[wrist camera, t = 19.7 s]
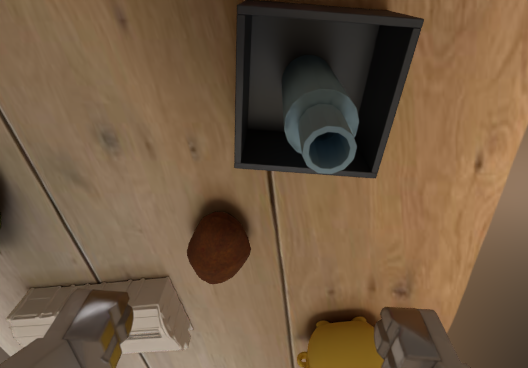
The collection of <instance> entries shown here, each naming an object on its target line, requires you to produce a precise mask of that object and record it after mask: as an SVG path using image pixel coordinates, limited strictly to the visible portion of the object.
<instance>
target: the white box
mask: <svg viewBox="0 0 528 368" xmlns="http://www.w3.org/2000/svg"><path fill="white" fill-rule="evenodd" d="M77 288H80V289H95V290H107V291H120V292H128V295H129V298H130V299H129V301H128V305H130V306H131V307H132V308H133V313H134V319H133V324H132V329H131V331H130V334H139V333H154V332H159V333H155V334H140V335H129V337H139V336H153V335H160V336H157V337H143V338H128V339H126V340H125V341H124V342H122V343H121V344H120V346H121V349H122V354H126V353H142V352H158V351H174V350H185V349H184V348H188V346H189V342H190V338H191V335H190V333H189V331H188V330H193V328H192V326H191V324H190V322H189V321H190V320H189V318H188V316H187V315H186V313H185V311H184V308H183V306H182V303H180V301H179V298H178V295H177V293H176V291H175V289H174V288H173V286H172V282H171V280H170V278H169V276H167V277H166V278H159V279H147V280H145V279H144V278H141V280H136V281H132V279H130V280H128V281H125V282H114V283H106V282H102V283H101V284H92V285H90V284H89V283H86V284H85V285H81V286H75V285H71V286H70V287H61V286H57V287H47V288H36V289H35V288H30V290H29V291H28V292H27V293H26V295H25V296H24V297H23V298H22V300H21V301H20V302H19V303H18V304H17V306H16V307H15V308H14V309H13V311H12V312H11V313H10V314H9V316H8V317H7V318H6V320H7V321H11V326H10V327H9V328H12V334H13V336H14V337H13V338H15V340H16V341H17V342H18V343H20V344H19V345H22V346H23V347H25V346H27V345H28V344H30V343H31V342H33V341H34V340H35V339H37V338H43V337H44V335H45V334H46V332H47V331H48V329H49V328H50V326H51V324H52V323H53V321H54V320H55V318H56V317H57V315H58V314H59V312H60V311H61V309H62V308H63V306H64V305H65V303H66V301H67V300H68V298H69V297H70V295H71V294H72V293H73V292H74V291H75V290H76V289H77Z"/></svg>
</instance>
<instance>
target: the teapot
mask: <svg viewBox="0 0 528 368" xmlns="http://www.w3.org/2000/svg"><path fill="white" fill-rule="evenodd" d="M316 327H317V328H316V329H315V331H314V332H313V334H312V336H311V338H310V340H309V344H308V350H307V352H301V353H300V354H299V355H298V357H297V363H298V365H299V366H300V367H304V368H381V366H382V363H383V361H384V360H383V358H382V357H381V356H380V355H379V354H378V353H377V351H376V347H375V342H374V327H372V326H371V325H370V324H368V323H366V319H365V318H364V317H355V318H353V319H352V321H346V322H336V323H329V322H328V321H319V322H317V324H316ZM302 359H306V362H302V361H301V360H302Z"/></svg>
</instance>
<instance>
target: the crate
mask: <svg viewBox="0 0 528 368" xmlns="http://www.w3.org/2000/svg"><path fill="white" fill-rule="evenodd" d="M423 22H424V19H422V18H418V17H413V16H409V15H405V14H400V13H396V12H392V11H388V10H375V9H362V8H350V7H337V6H324V5H311V4H298V3H285V2H272V1H259V0H246V1H244V2H242V3H240V4H238V5H237V39H236V100H235V161H234V162H235V163H234V168H240V169H254V170H267V171H281V172H295V173H308V174H322V175H336V176H349V177H363V178H376V176H377V173H378V170H379V166H380V163H381V160H382V156H383V153H384V150H385V147H386V143H387V140H388V137H389V133H390V130H391V127H392V124H393V120H394V117H395V114H396V110H397V107H398V104H399V101H400V97H401V94H402V91H403V87H404V84H405V81H406V78H407V74H408V71H409V68H410V64H411V61H412V58H413V55H414V51H415V48H416V45H417V41H418V38H419V35H420V31H421V28H422V25H423ZM304 55H314V56H317V57H320V58H321V59H323V60H324V61H325V62H326V63H327V64H328V65H329V67H330V68H331V69H332V71H333V72H334V74H335V76H336V77H337V79H338V80H339V82H340V83H341V85H342V86H343V88H344V89H345V91H346V92H347V94H348V95H349V97H350V99H351V100H352V102H353V103H354V105H355V106H356V108H357V113H358V118H359V124H358V128H357V132H356V135H355V137H354V139H355V142H356V145H357V149H356V153H355V157H354V159H353V161H352V162H351V163H350V164H349V165H348V166H347V167H346V168H345V169H344V170H341V171H338V172H336V173H333V174H323V173H317V172H315V171H314V170H312V169H311V168H309V167H308V166H307V165H306V163H305V161H304V159H303V156H302V154H300V153H298V152H297V151H296V150H295V149H294V148H293V147H292V146H291V145H290V144H289V143H288V140H287V137H286V134H285V131H284V118H283V100H282V77H283V74H284V71H285V69H286V67H287V66H288V65H289V64H290V63H291V62H292V61H293V60H294V59H296V58H298V57H300V56H304Z"/></svg>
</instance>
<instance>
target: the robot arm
mask: <svg viewBox="0 0 528 368" xmlns="http://www.w3.org/2000/svg"><path fill="white" fill-rule="evenodd" d="M129 299H130V298H129V295H128V292H120V291H107V290H95V289H80V288H77V289H76V290H75V291H74V292H73V293H72V294H71V295H70V297H69V298H68V300H67V301H66V303H65V305H64V306H63V308H62V309H61V311H60V312H59V314H58V315H57V317H56V318H55V320H54V321H53V323H52V324H51V326H50V328H49V329H48V331H47V332H46V334H45V335H44V337H43V338H37V339H35V340H34V341H33V342H31V343H30V344H28V345H27V346H25V347H24V348H23V349H21V350H20V351H18V352H17V353H16V354H14V355H13V356H11V357H10V358H8V359H7V360H6V361H4V362H3V363H1V364H0V368H116V366H117V363H118V361H119V359H120V356H121V354H122V349H121V346H120V344H121V343H122V342H124V341H125V340H126V339H127V338H128V337H129V334H130V331H131V329H132V324H133V319H134V313H133V308H132V307H131V306H130V305H128V301H129ZM380 315H381V318H382V319H381V320H379V321H377V322H376V325H375V328H374V342H375V347H376V351H377V353H378V354H379V355H380V356H381V357H382V358H383V360H384V361H383V363H382V366H381V368H471V367H470V366H469V365H467V364H466V363H461V362H460V360H459V358H458V356H457V354H456V352H455V350H454V348H453V346H452V344H451V342H450V340H449V338H448V336H447V334H446V332H445V329H444V327H443V325H442V323H441V321H440V319H439V317H438V315H437V313H436V312H435V311H434V310H430V309H415V308H398V307H384V308H383V309H382V311H381V313H380Z"/></svg>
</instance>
